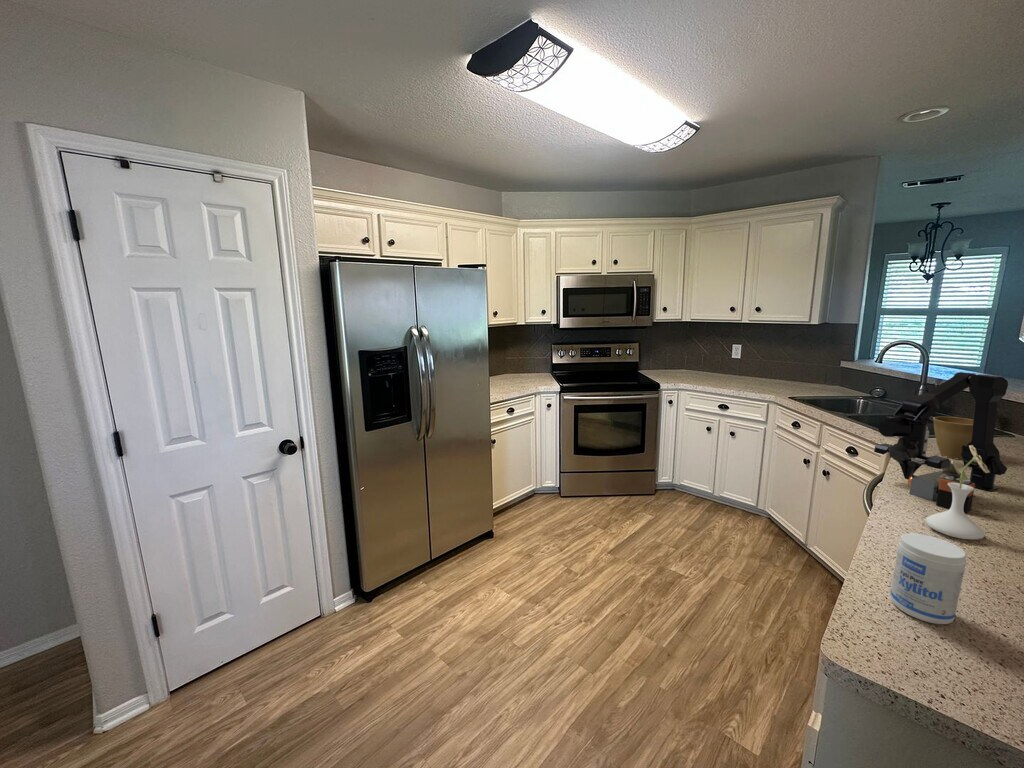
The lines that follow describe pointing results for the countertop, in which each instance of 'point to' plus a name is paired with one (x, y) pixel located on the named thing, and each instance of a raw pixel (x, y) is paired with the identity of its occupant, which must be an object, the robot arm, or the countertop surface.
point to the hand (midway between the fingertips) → (907, 479)
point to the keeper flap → (952, 469)
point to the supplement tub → (928, 578)
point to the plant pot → (952, 435)
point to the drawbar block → (928, 484)
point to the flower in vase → (958, 509)
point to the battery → (946, 494)
